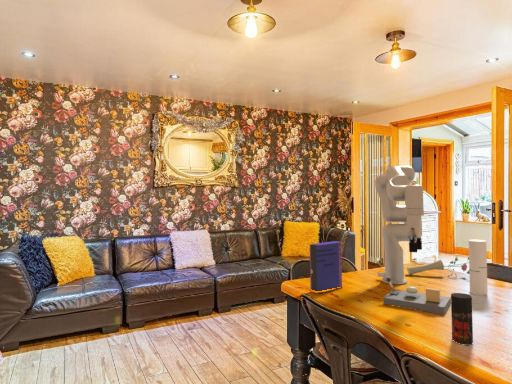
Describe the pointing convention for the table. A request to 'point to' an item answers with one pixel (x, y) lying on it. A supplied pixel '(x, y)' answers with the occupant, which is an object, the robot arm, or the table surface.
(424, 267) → the flower vase
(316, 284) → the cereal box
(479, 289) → the cylindrical container
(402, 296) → the control panel
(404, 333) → the table surface
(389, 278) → the toggle lever
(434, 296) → the paddle switch
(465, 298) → the deodorant
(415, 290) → the push button
